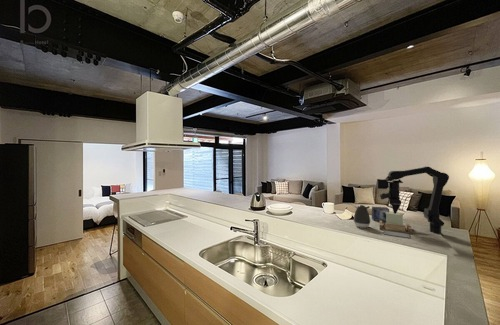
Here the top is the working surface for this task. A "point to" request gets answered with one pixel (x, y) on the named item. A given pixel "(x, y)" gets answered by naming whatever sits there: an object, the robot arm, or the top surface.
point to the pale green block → (394, 218)
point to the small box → (379, 213)
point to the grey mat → (396, 234)
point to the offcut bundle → (395, 227)
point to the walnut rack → (396, 230)
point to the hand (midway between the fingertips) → (394, 212)
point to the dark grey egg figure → (362, 217)
